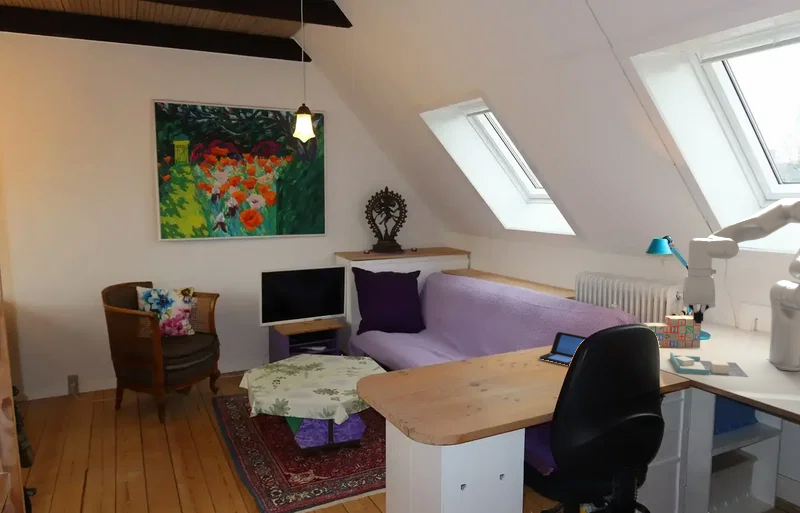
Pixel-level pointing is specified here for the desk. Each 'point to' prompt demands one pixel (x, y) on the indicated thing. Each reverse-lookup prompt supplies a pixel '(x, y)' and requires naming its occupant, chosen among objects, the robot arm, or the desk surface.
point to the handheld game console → (563, 348)
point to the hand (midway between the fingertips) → (698, 322)
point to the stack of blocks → (677, 332)
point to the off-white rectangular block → (719, 367)
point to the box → (687, 370)
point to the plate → (733, 369)
